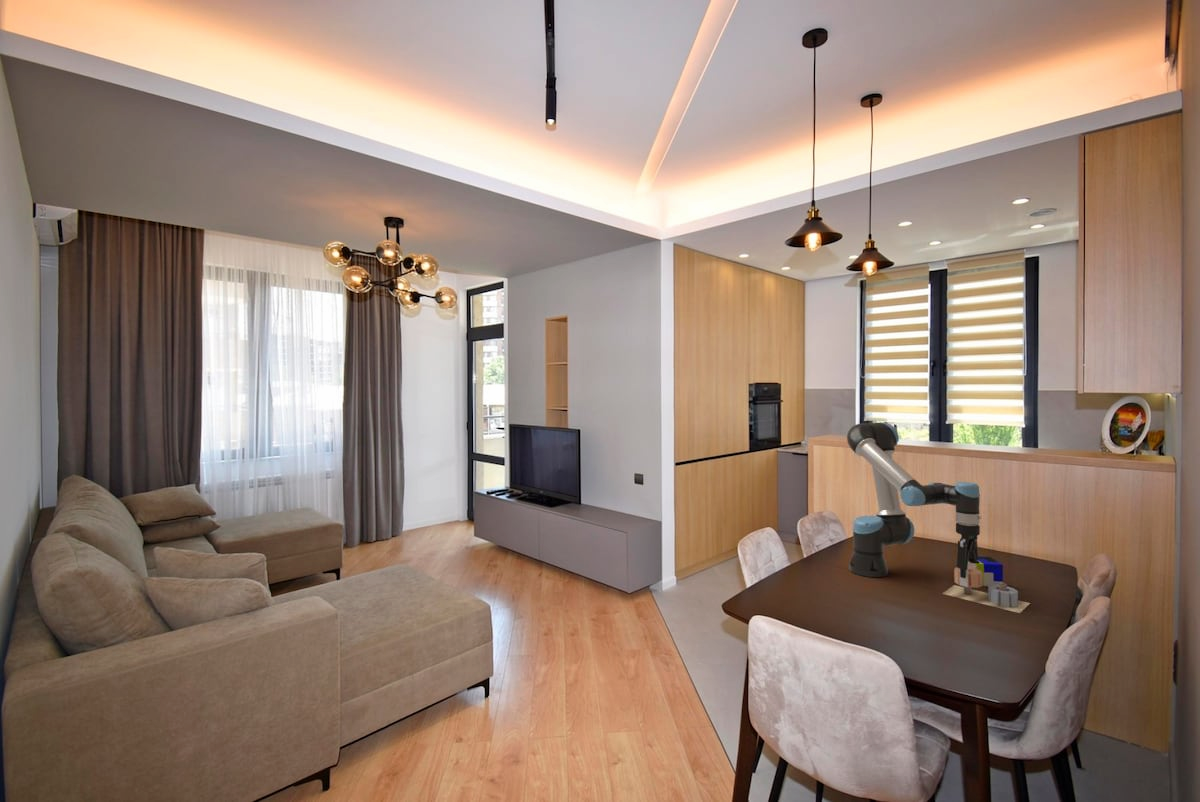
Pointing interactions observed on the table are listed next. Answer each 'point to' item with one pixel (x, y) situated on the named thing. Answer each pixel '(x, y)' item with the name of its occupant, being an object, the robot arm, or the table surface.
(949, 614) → the table surface
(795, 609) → the table surface
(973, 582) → the loose gear
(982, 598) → the gear board
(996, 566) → the puzzle toy
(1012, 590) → the gear
